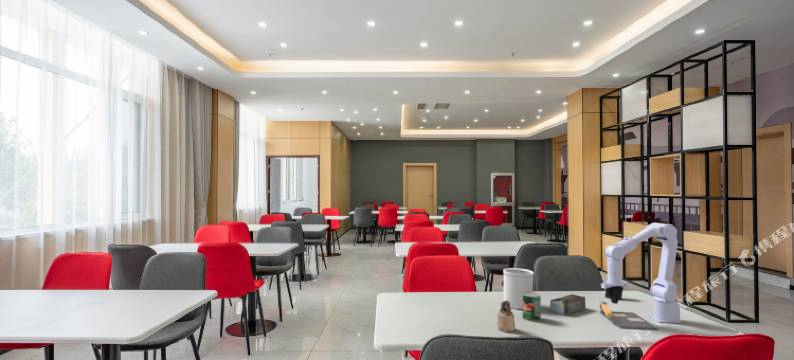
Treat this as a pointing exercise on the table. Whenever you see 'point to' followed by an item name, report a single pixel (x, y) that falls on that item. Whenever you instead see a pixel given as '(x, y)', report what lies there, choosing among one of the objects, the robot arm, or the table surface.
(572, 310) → the beverage carton
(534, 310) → the canned tomato
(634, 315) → the panel
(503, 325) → the figurine
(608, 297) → the speaker
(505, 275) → the utensil holder
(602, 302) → the swing arm
